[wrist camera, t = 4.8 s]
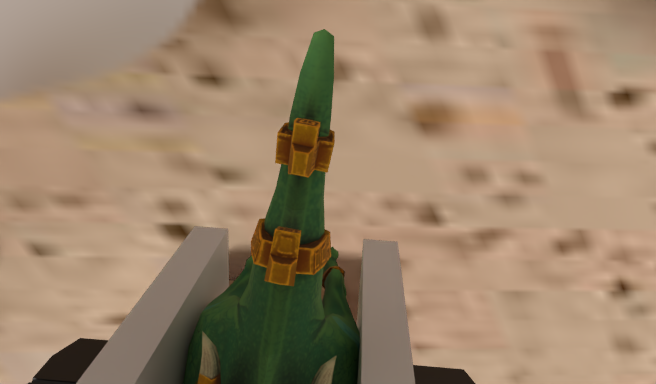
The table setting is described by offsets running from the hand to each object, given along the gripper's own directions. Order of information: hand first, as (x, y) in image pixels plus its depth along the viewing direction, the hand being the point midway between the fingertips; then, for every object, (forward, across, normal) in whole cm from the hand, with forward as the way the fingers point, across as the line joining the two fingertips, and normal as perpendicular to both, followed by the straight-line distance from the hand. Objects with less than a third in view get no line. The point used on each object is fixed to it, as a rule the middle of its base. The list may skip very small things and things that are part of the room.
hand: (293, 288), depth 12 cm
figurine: (+1, 0, 0) cm, 1 cm away
